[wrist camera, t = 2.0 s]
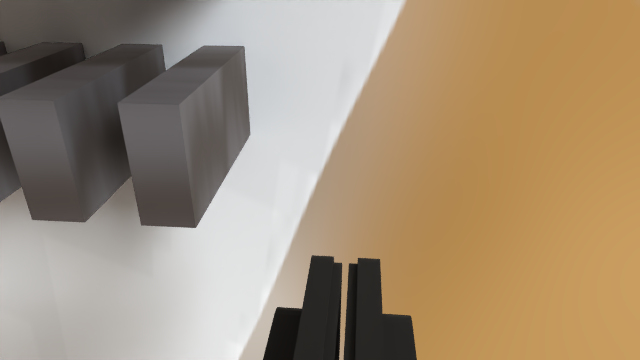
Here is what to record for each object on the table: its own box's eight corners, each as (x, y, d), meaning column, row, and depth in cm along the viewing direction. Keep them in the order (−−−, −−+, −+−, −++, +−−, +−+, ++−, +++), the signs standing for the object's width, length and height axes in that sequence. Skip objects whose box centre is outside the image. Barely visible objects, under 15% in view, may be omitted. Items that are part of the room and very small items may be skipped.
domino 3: (203, 45, 25) (117, 102, 17) (244, 46, 25) (178, 104, 16) (212, 133, 28) (141, 225, 19) (250, 134, 28) (195, 227, 19)
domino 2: (122, 44, 26) (-6, 99, 17) (161, 44, 26) (53, 100, 17) (138, 130, 28) (32, 219, 19) (174, 131, 28) (84, 222, 19)
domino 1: (43, 42, 26) (-124, 96, 17) (81, 43, 26) (-67, 97, 17) (64, 128, 28) (-73, 214, 19) (100, 129, 28) (-21, 217, 19)
